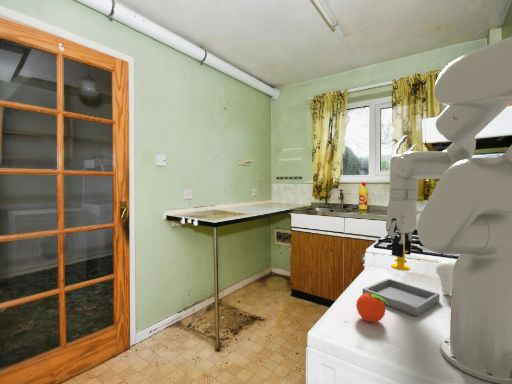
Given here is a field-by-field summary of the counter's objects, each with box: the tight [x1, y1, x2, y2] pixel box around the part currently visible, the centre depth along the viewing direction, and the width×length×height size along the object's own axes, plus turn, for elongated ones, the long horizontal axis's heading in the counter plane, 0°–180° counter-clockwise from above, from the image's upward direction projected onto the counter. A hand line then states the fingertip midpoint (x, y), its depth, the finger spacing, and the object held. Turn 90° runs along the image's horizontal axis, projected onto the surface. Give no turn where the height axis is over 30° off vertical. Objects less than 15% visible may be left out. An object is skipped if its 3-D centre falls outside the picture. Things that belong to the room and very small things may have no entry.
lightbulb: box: [435, 260, 455, 296], centre depth 84 cm, size 6×6×11 cm
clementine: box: [355, 293, 391, 323], centre depth 68 cm, size 8×7×7 cm
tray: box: [362, 278, 441, 318], centre depth 81 cm, size 16×16×2 cm
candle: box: [390, 233, 411, 272], centre depth 80 cm, size 5×5×16 cm
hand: (401, 254), depth 80 cm, fingers closed on candle, 3 cm apart
